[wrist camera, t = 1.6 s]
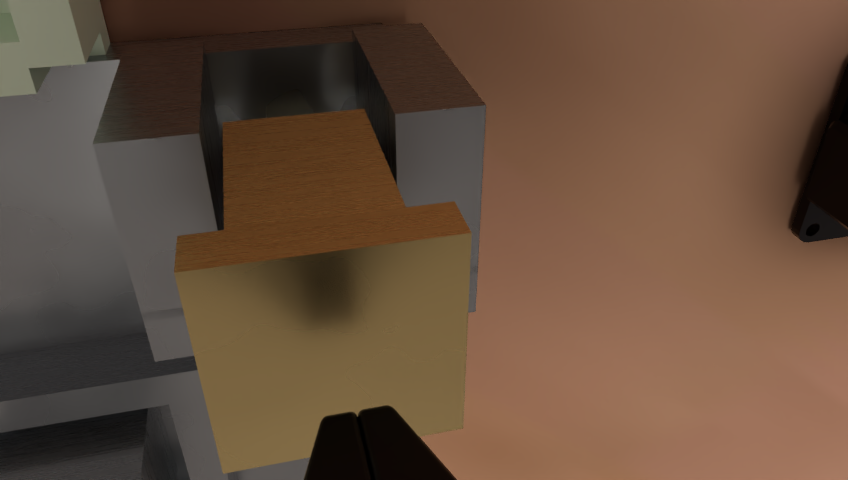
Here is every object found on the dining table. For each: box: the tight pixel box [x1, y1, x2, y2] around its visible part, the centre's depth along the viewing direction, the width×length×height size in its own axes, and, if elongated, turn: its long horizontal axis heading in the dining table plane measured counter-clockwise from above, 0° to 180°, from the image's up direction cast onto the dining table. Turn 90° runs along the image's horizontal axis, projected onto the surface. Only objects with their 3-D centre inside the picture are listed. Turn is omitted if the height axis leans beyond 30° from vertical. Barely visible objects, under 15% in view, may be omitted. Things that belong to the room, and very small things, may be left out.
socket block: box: [0, 23, 486, 480], centre depth 18 cm, size 14×15×6 cm
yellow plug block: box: [174, 109, 472, 474], centre depth 12 cm, size 4×4×5 cm
